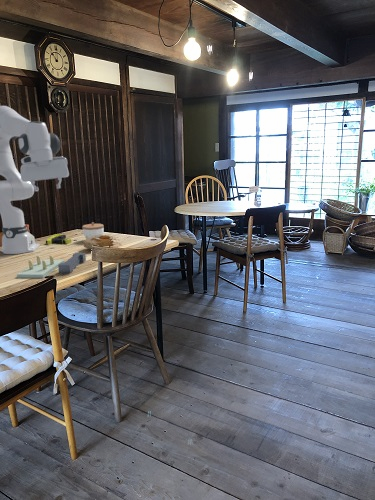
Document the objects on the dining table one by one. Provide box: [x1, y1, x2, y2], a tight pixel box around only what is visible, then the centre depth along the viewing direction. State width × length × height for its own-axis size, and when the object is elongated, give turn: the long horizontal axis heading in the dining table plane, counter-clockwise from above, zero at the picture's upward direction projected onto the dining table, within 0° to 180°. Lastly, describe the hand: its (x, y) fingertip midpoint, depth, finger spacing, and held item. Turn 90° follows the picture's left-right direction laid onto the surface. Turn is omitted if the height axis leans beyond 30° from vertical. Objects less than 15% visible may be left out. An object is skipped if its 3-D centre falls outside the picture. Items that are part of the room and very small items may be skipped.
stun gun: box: [45, 233, 72, 246], centre depth 247 cm, size 3×19×15 cm
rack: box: [16, 255, 66, 279], centre depth 188 cm, size 24×12×6 cm, turn 175°
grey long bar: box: [57, 252, 87, 275], centre depth 191 cm, size 21×5×4 cm, turn 175°
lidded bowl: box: [81, 222, 105, 240], centre depth 245 cm, size 13×13×11 cm
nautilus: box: [82, 234, 123, 250], centre depth 223 cm, size 8×22×15 cm
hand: (47, 189), depth 180 cm, fingers open, 8 cm apart
